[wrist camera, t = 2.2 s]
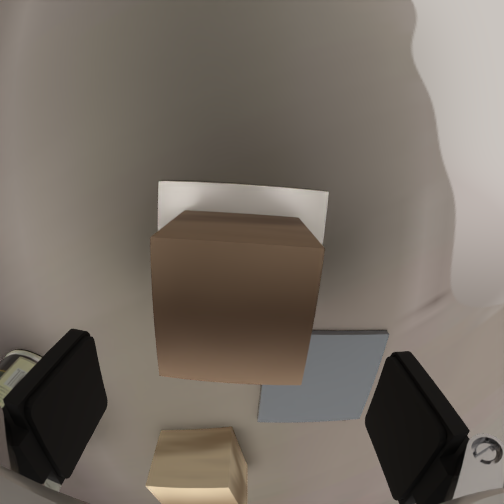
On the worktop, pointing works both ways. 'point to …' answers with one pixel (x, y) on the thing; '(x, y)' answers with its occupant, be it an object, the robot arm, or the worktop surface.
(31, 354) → the coffee can
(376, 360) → the slate coaster
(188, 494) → the maple block
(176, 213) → the tile
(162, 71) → the worktop surface
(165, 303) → the walnut block
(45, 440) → the robot arm
